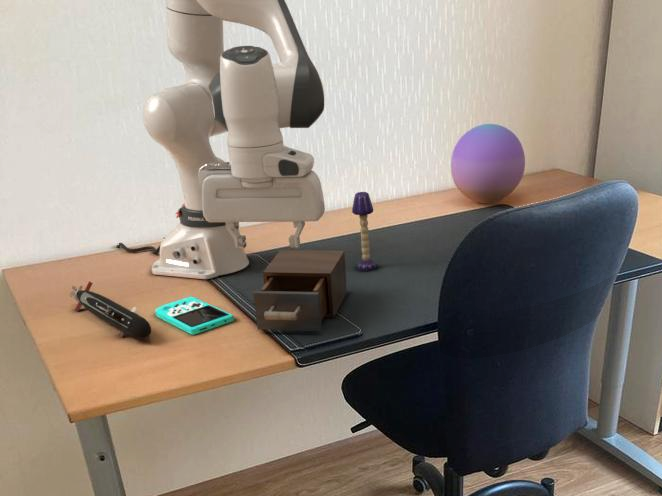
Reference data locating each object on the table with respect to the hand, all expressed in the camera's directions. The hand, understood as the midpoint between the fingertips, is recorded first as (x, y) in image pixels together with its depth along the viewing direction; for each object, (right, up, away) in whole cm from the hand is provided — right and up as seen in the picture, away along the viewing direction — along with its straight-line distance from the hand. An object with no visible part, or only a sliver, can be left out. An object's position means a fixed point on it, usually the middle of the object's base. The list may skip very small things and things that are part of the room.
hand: (267, 247), depth 141 cm
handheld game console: (-18, -6, +28) cm, 34 cm away
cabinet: (+5, -3, +31) cm, 32 cm away
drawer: (+3, -9, +21) cm, 23 cm away
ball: (+50, +38, +90) cm, 110 cm away
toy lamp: (+17, +9, +48) cm, 52 cm away
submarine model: (-36, -8, +27) cm, 45 cm away
